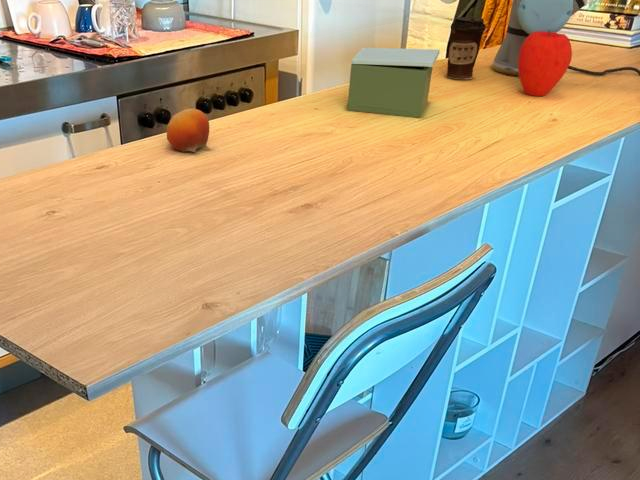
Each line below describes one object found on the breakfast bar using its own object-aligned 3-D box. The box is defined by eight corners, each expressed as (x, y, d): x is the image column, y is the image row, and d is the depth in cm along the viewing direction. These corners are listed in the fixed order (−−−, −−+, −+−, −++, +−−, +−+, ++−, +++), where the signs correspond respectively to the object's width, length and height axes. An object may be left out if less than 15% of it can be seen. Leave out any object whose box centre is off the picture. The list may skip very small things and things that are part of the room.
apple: (564, 92, 196) (580, 28, 188) (559, 102, 188) (575, 36, 179) (514, 86, 199) (528, 23, 191) (507, 96, 191) (520, 31, 182)
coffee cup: (476, 82, 201) (487, 22, 192) (442, 80, 202) (451, 20, 194) (476, 75, 207) (486, 16, 199) (443, 72, 208) (452, 14, 200)
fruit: (202, 151, 147) (182, 106, 144) (172, 167, 152) (153, 124, 149) (226, 141, 152) (208, 97, 149) (197, 157, 157) (179, 115, 155)
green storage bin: (427, 102, 185) (434, 57, 179) (420, 117, 174) (427, 71, 169) (358, 95, 188) (362, 51, 182) (347, 110, 177) (351, 64, 172)
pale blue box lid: (439, 53, 178) (439, 49, 178) (432, 66, 168) (433, 62, 167) (362, 51, 182) (362, 47, 181) (351, 63, 172) (351, 59, 171)
